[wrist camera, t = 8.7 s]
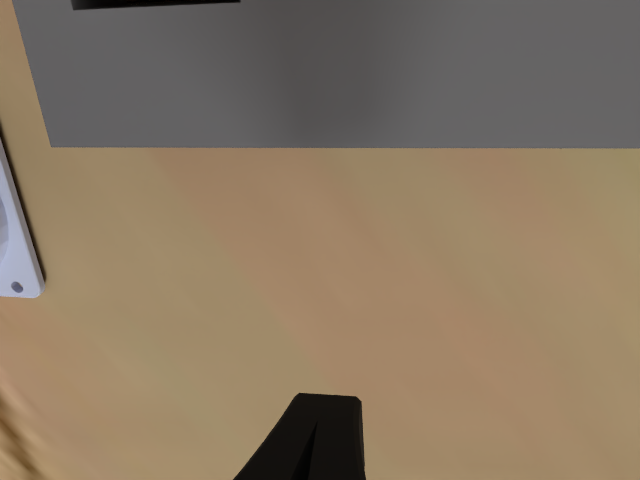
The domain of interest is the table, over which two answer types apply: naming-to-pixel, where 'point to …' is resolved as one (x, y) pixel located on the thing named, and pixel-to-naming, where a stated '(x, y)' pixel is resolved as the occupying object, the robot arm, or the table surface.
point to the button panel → (336, 73)
